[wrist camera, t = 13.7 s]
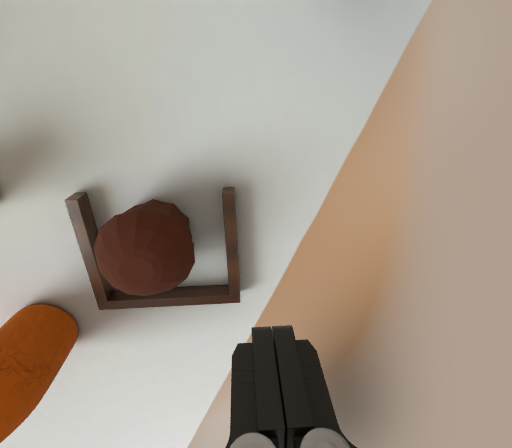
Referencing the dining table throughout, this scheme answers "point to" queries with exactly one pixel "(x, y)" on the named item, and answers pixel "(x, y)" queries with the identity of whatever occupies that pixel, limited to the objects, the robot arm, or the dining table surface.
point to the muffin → (146, 249)
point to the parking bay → (175, 297)
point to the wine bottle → (31, 359)
